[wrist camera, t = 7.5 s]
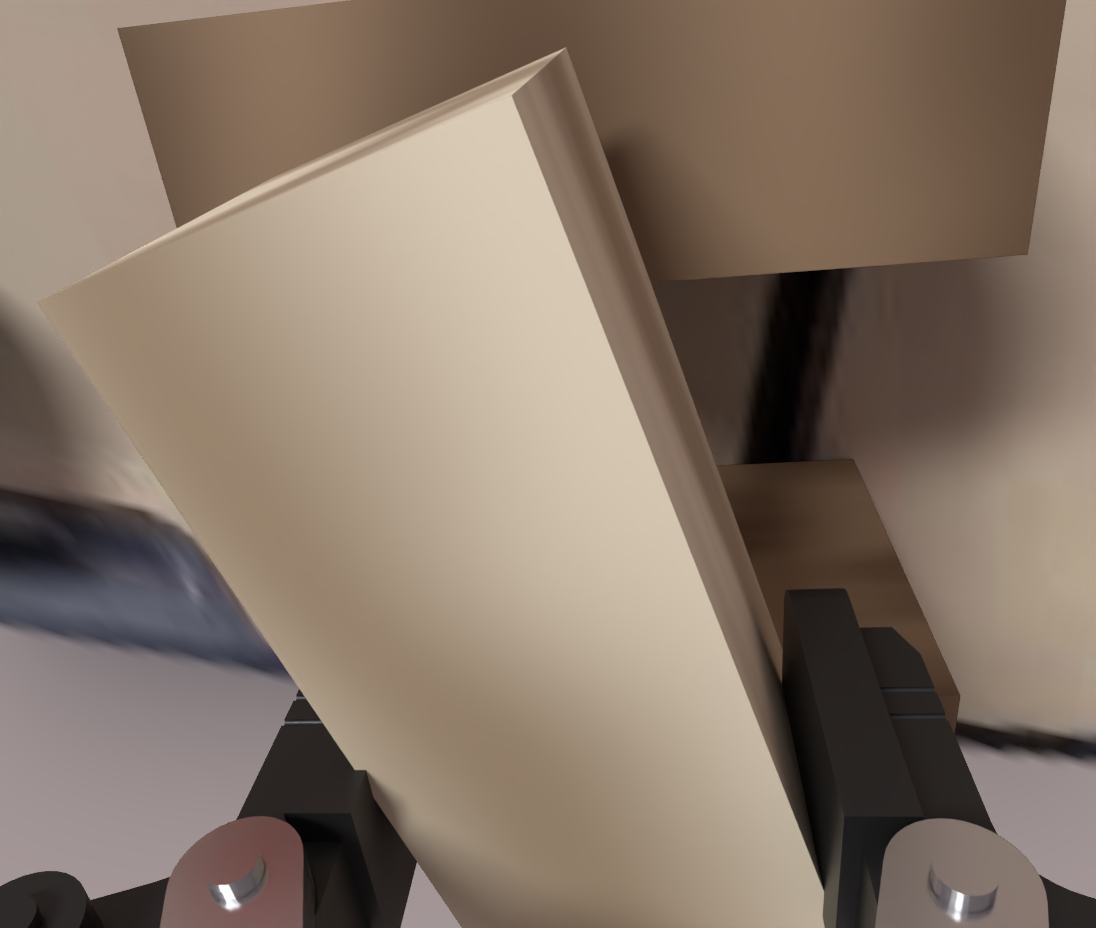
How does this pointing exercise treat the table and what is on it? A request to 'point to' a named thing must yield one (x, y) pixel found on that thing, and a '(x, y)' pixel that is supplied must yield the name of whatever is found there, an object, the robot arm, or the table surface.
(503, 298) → the maple beam
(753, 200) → the slotted shelf
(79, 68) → the table surface
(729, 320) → the table surface
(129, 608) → the table surface
